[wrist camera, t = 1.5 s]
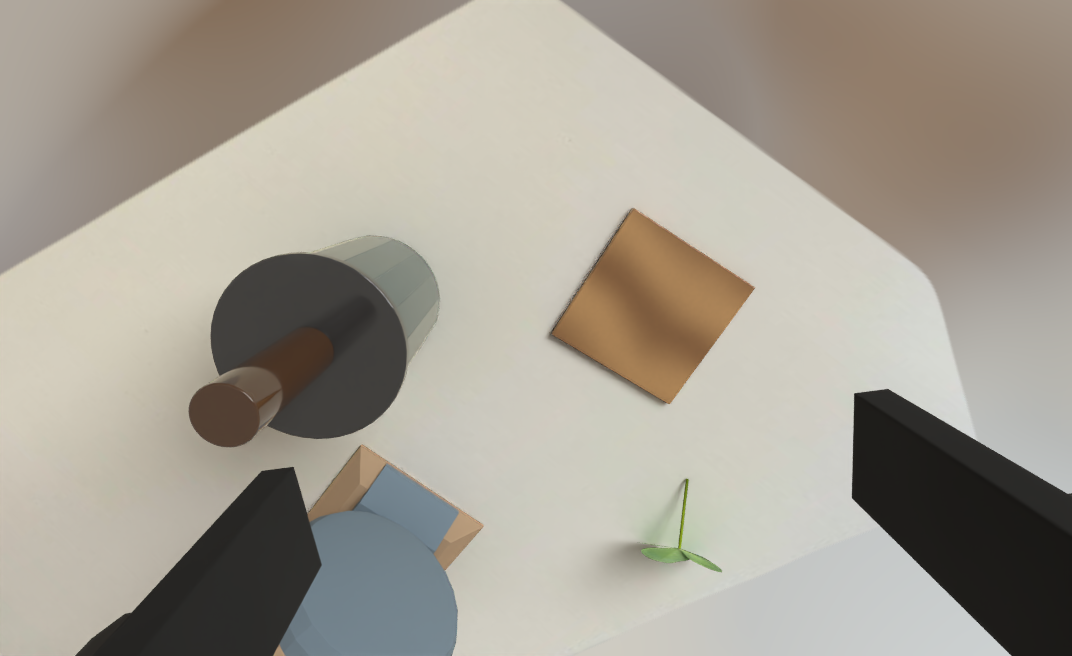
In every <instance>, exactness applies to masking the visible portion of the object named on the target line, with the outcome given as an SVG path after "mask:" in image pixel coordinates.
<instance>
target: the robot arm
mask: <svg viewBox="0 0 1072 656" xmlns="http://www.w3.org/2000/svg"><path fill="white" fill-rule="evenodd" d="M852 499H853V500H854V501H855V502H856V503H857V504H858V505H859V506H860V507H861V508H862V509H863V510H865V511H866V512H867V513H868V514H869V515H870V516H871V517H872V518H873V519H874V520H875V521H876V522H877V523H878V524H879V525H880V526H881V527H882V528H883V529H884V530H885V531H886V532H887V533H888V534H889V535H890V536H891V537H892V538H893V539H894V540H895V541H896V542H897V543H898V544H899V545H900V546H901V547H902V548H903V549H904V550H905V551H906V552H907V553H908V554H909V555H910V556H911V557H912V558H913V559H914V560H915V561H916V562H917V563H918V564H919V565H920V566H921V567H922V568H923V569H924V570H925V571H926V572H927V573H928V574H929V575H931V577H932V578H933V579H934V580H935V581H936V582H937V583H939V585H940V586H941V587H942V588H944V589H945V590H946V591H947V592H948V593H949V594H950V595H951V596H952V597H953V598H954V599H955V600H956V601H957V602H958V603H959V604H960V605H961V606H962V607H963V608H964V609H965V610H966V611H967V612H968V613H969V614H970V615H971V616H972V617H973V618H974V619H975V620H976V621H977V622H978V623H979V624H980V625H981V626H982V627H983V628H984V629H985V630H986V631H987V632H988V633H989V634H990V635H991V636H992V637H993V638H994V639H995V640H996V641H997V642H998V643H999V644H1000V645H1001V646H1002V647H1003V648H1004V649H1005V650H1006V651H1007V652H1008V653H1009V654H1010V655H1011V656H1072V493H1071V494H1067V493H1065V492H1063V491H1062V490H1060V489H1058V488H1057V487H1055V486H1053V485H1051V484H1049V483H1048V482H1046V481H1044V480H1043V479H1041V478H1039V477H1038V476H1036V475H1034V474H1033V473H1031V472H1029V471H1027V470H1026V469H1024V468H1022V467H1021V466H1019V465H1017V464H1015V463H1014V462H1012V461H1010V460H1008V459H1007V458H1005V457H1003V456H1002V455H1000V454H998V453H997V452H995V451H993V450H991V449H990V448H988V447H986V446H985V445H983V444H981V443H980V442H978V441H976V440H974V439H973V438H971V437H969V436H968V435H966V434H964V433H962V432H961V431H959V430H957V429H956V428H954V427H952V426H950V425H949V424H947V423H945V422H944V421H942V420H940V419H938V418H937V417H935V416H933V415H932V414H930V413H928V412H926V411H925V410H923V409H921V408H920V407H918V406H916V405H914V404H913V403H911V402H909V401H908V400H906V399H904V398H902V397H901V396H899V395H897V394H896V393H894V392H892V391H891V390H889V389H885V390H877V391H869V392H862V393H854V432H853V474H852ZM321 566H322V563H321V560H320V557H319V553H318V550H317V546H316V543H315V539H314V536H313V532H312V529H311V525H310V522H309V519H308V515H307V512H306V508H305V505H304V501H303V498H302V494H301V491H300V487H299V484H298V481H297V477H296V474H295V470H294V467H288V468H281V469H273V470H265V471H261V472H260V473H259V474H258V476H257V477H256V478H255V479H254V480H253V481H252V482H251V483H250V484H249V485H248V486H247V488H246V489H245V490H244V491H243V492H242V493H241V494H240V495H239V496H238V497H237V498H236V500H235V501H234V502H233V503H232V504H231V505H230V506H229V507H228V508H227V509H226V510H225V512H224V513H223V514H222V515H221V516H220V517H219V518H218V519H217V520H216V521H215V522H214V524H213V525H212V526H211V527H210V528H209V529H208V530H207V531H206V532H205V533H204V534H203V536H202V537H201V538H200V539H199V540H198V541H197V542H196V543H195V544H194V545H193V546H192V548H191V549H190V550H189V551H188V552H187V553H186V554H185V555H184V556H183V557H182V558H181V560H180V561H179V562H178V563H177V564H176V565H175V566H174V567H173V568H172V569H171V570H170V572H169V573H168V574H167V575H166V576H165V577H164V578H163V579H162V580H161V581H160V582H159V584H158V585H157V586H156V587H155V588H154V589H153V590H152V591H151V592H150V593H149V594H148V596H147V597H146V598H145V599H144V600H143V601H142V602H141V603H140V604H139V605H138V606H137V608H136V609H135V610H134V611H133V612H132V613H127V614H124V615H123V616H121V617H120V618H119V619H117V620H116V621H115V622H113V623H112V624H111V625H109V626H108V627H107V628H105V629H104V630H103V631H101V632H100V633H99V634H97V635H96V636H94V637H93V638H92V639H91V640H90V641H89V642H88V643H87V644H86V645H85V646H84V647H83V648H82V649H81V650H80V651H79V652H78V653H77V654H76V655H75V656H273V655H274V653H275V651H276V649H277V648H278V646H279V644H280V642H281V640H282V638H283V636H284V635H285V633H286V631H287V629H288V627H289V625H290V623H291V622H292V620H293V618H294V616H295V614H296V612H297V610H298V609H299V607H300V605H301V603H302V601H303V599H304V597H305V595H306V594H307V592H308V590H309V588H310V586H311V584H312V582H313V581H314V579H315V577H316V575H317V573H318V571H319V569H320V568H321Z"/></svg>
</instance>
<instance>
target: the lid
mask: <svg viewBox="0 0 1072 656" xmlns="http://www.w3.org/2000/svg"><path fill="white" fill-rule="evenodd" d="M211 349H212V354H213V359H214V362H215V365H216V368H217V371H218V373H219V375H220V376H219V377H218V378H216V379H215V380H213V381H211V382H210V383H208V384H207V385H205V386H203V387H202V388H200V389H199V390H198V391H197V392H196V393H195V394H194V395H193V397H192V399H191V402H190V405H189V417H190V421H191V424H192V425H193V427H194V429H195V430H196V432H197V433H198V434H199V435H200V436H201V437H202V438H204V439H205V440H206V441H208V442H210V443H212V444H214V445H217V446H221V447H236V446H240V445H243V444H245V443H247V442H249V441H250V440H251V439H252V438H254V437H255V436H256V435H257V434H258V433H259V432H260V431H261V430H262V429H263V428H264V427H265V426H266V425H267V426H269V427H271V428H274V429H276V430H278V431H280V432H283V433H286V434H290V435H293V436H298V437H303V438H314V439H323V438H334V437H340V436H344V435H347V434H351V433H353V432H356V431H358V430H360V429H363V428H364V427H366V426H368V425H369V424H371V423H373V422H374V421H375V420H376V419H378V418H379V417H380V416H381V415H382V414H383V413H384V412H385V411H386V410H387V409H388V408H389V407H390V405H391V404H392V402H393V401H394V399H395V398H396V396H397V395H398V393H399V391H400V389H401V387H402V385H403V382H404V379H405V376H406V373H407V368H408V362H409V346H408V337H407V333H406V329H405V325H404V323H403V320H402V318H401V315H400V313H399V311H398V309H397V308H396V306H395V304H394V302H393V301H392V300H391V298H390V297H389V295H388V294H387V293H386V291H385V290H384V289H383V288H382V287H381V286H380V285H379V284H378V283H377V282H376V281H375V280H374V279H372V278H371V277H370V276H369V275H368V274H366V273H365V272H363V271H362V270H360V269H359V268H357V267H356V266H354V265H352V264H350V263H348V262H346V261H343V260H341V259H338V258H335V257H332V256H328V255H324V254H319V253H309V252H294V253H287V254H281V255H277V256H274V257H270V258H267V259H264V260H262V261H260V262H258V263H255V264H253V265H251V266H250V267H248V268H247V269H245V270H244V271H243V272H241V273H240V274H239V275H238V276H237V277H236V278H235V279H234V280H232V282H231V283H230V284H229V285H228V287H227V288H226V289H225V290H224V292H223V294H222V296H221V297H220V299H219V301H218V304H217V306H216V309H215V311H214V315H213V320H212V324H211Z"/></svg>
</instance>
